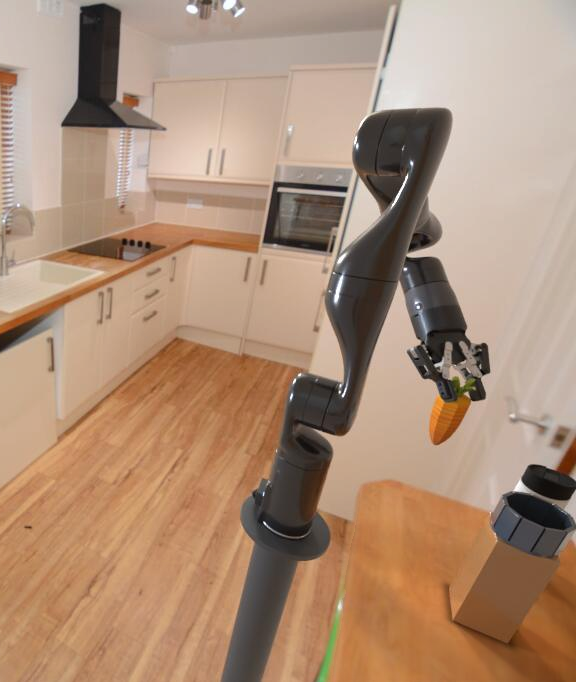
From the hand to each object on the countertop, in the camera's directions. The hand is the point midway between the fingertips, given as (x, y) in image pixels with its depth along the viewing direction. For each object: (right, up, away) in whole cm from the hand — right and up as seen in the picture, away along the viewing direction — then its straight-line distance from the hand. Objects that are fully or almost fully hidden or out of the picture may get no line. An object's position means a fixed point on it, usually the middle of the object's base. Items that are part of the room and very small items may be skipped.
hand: (464, 400), depth 80 cm
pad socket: (-2, -35, -5) cm, 35 cm away
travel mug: (+12, -30, +5) cm, 33 cm away
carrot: (0, -9, +7) cm, 11 cm away
